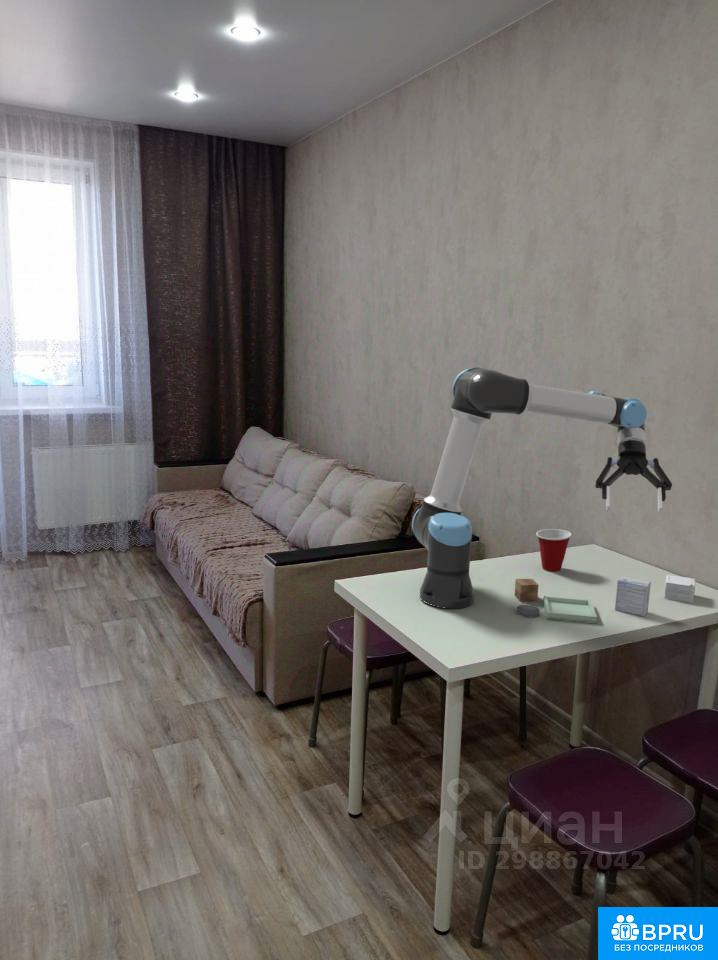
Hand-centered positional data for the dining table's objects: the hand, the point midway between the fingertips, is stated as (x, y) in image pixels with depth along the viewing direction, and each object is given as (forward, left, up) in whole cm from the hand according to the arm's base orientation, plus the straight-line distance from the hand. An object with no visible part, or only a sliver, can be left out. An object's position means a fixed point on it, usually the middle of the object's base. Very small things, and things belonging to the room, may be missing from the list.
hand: (633, 509), depth 202 cm
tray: (-17, -14, -26) cm, 34 cm away
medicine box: (0, -9, -27) cm, 28 cm away
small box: (+16, +6, -27) cm, 32 cm away
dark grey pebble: (-28, -17, -27) cm, 42 cm away
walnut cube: (-28, -6, -26) cm, 39 cm away
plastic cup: (-19, +23, -27) cm, 40 cm away
